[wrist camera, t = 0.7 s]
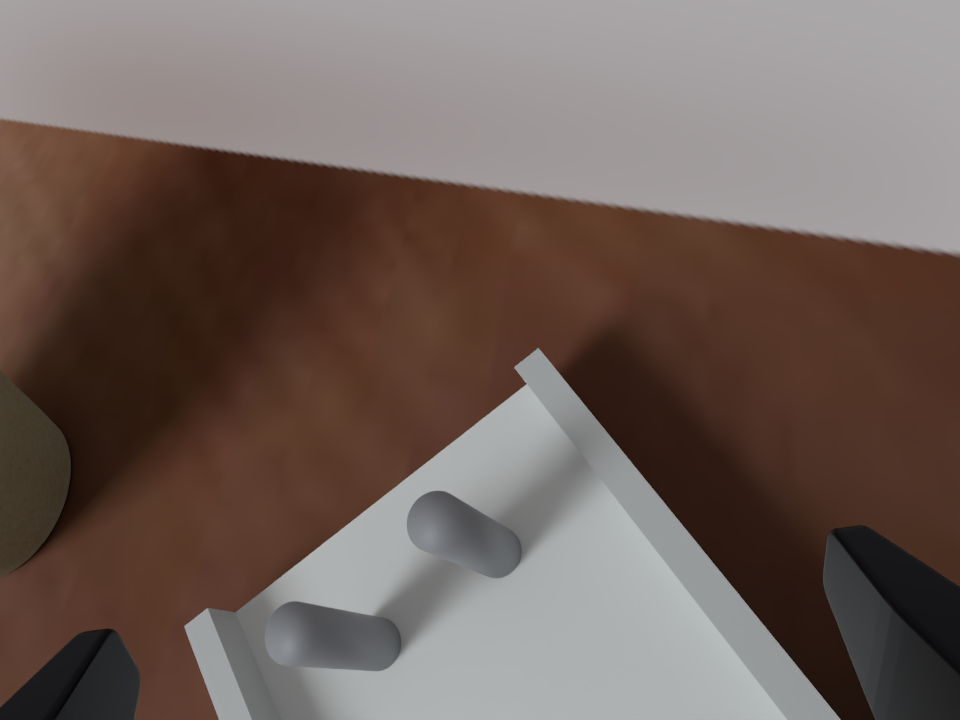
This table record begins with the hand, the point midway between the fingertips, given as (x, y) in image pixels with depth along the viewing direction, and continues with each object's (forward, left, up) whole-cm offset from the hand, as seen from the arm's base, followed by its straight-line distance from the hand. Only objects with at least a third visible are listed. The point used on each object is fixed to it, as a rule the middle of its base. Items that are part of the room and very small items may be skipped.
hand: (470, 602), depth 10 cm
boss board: (+1, +4, -15) cm, 16 cm away
